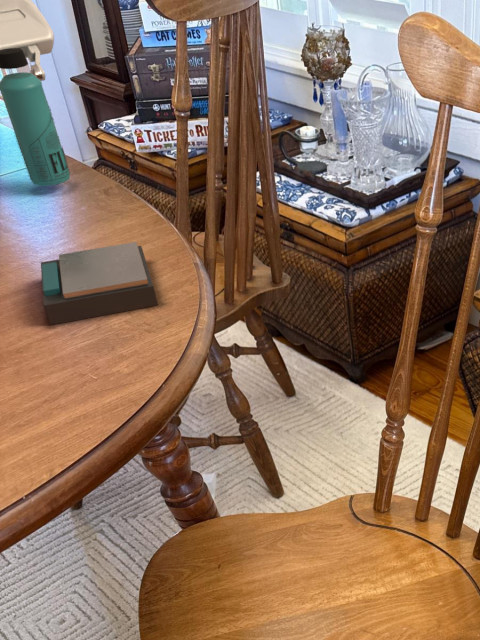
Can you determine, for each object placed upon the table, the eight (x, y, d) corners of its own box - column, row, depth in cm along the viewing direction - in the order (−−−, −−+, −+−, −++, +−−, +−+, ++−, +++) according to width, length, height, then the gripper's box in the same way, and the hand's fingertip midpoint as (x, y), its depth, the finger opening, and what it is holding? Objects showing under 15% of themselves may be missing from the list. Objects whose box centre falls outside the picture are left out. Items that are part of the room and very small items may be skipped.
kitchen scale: (50, 325, 95) (41, 299, 93) (47, 281, 104) (38, 256, 102) (158, 305, 98) (151, 279, 96) (146, 263, 107) (139, 239, 105)
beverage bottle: (63, 196, 126) (18, 54, 113) (25, 195, 127) (-24, 54, 114) (81, 182, 131) (40, 44, 117) (45, 180, 132) (0, 44, 118)
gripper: (-112, -3, 112) (-57, 85, 113) (25, -24, 122) (74, 58, 123) (-107, 29, 117) (-55, 113, 119) (23, 7, 127) (70, 85, 129)
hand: (12, 85), depth 121 cm, fingers open, 8 cm apart
